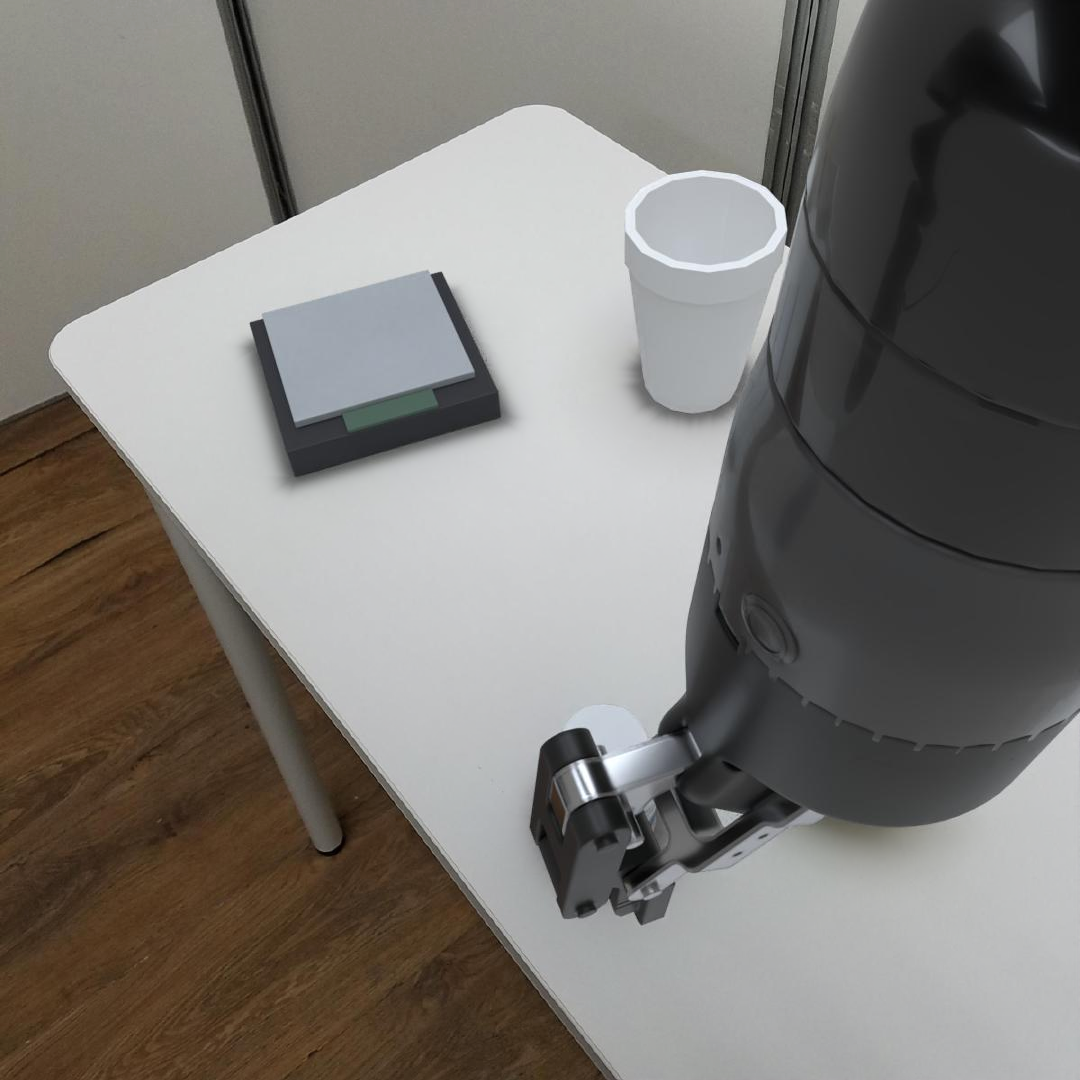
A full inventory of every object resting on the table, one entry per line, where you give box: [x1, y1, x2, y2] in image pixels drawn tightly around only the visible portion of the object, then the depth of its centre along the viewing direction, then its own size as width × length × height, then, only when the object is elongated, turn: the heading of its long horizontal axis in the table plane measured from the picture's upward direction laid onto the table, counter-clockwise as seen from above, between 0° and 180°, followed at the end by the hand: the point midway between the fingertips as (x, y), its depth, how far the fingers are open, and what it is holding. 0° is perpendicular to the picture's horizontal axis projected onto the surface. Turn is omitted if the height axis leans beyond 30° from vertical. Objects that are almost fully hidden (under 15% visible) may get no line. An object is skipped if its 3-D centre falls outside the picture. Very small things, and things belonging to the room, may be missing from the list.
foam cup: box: [624, 169, 788, 415], centre depth 69 cm, size 10×9×13 cm
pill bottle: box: [561, 703, 658, 834], centre depth 52 cm, size 5×5×9 cm
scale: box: [249, 269, 502, 477], centre depth 74 cm, size 14×13×3 cm
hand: (766, 840), depth 33 cm, fingers open, 8 cm apart
